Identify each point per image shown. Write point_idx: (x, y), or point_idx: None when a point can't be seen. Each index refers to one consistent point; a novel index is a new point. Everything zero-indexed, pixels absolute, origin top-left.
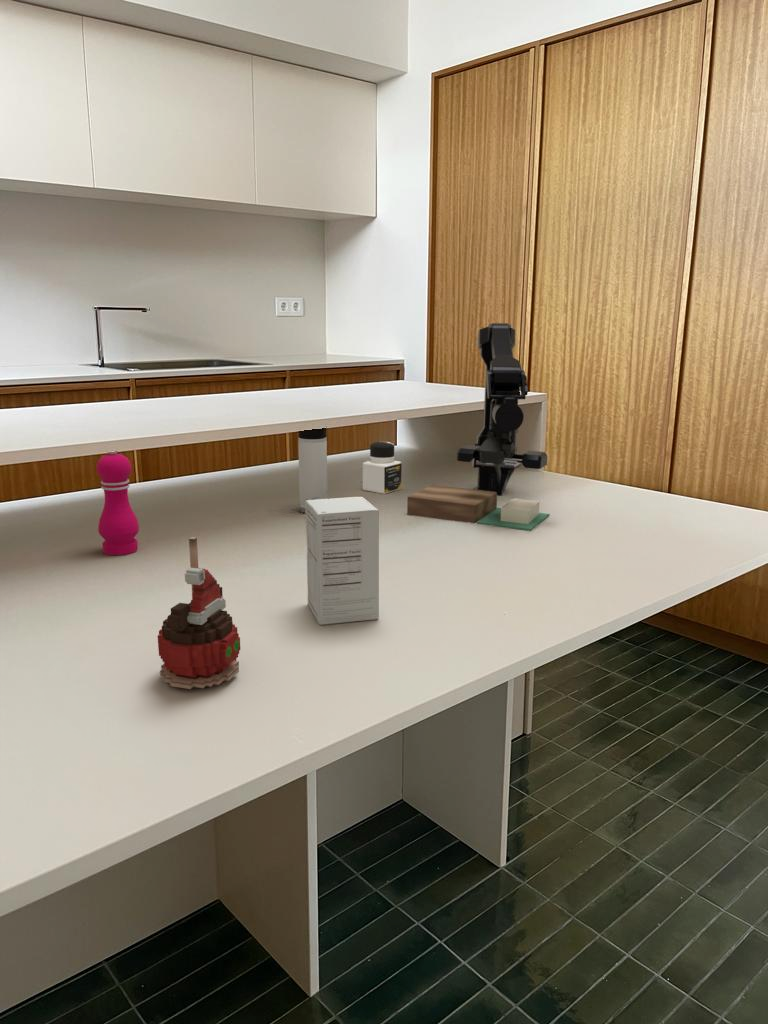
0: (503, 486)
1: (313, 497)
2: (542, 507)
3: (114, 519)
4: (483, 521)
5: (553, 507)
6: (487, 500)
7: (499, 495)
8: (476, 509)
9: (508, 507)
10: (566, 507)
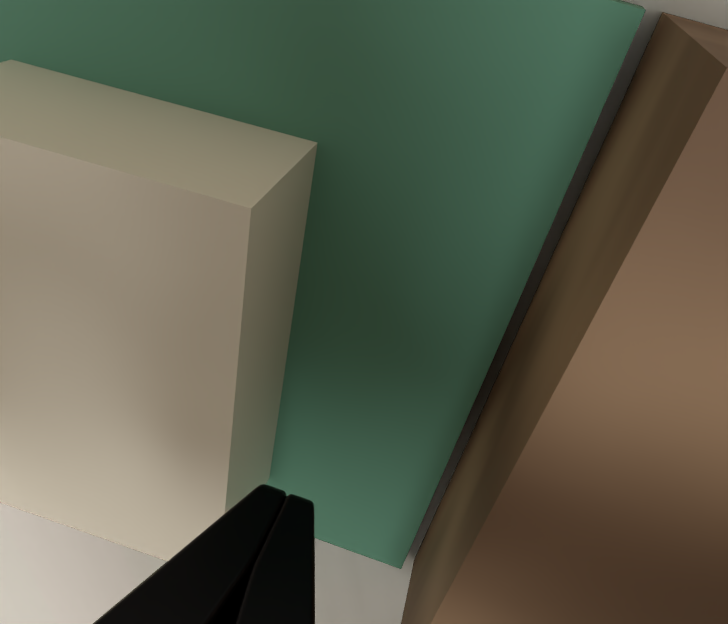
0: (134, 589)
1: None
2: (121, 583)
3: None
4: (532, 59)
5: (64, 580)
6: (477, 513)
7: (282, 493)
8: (673, 106)
9: (152, 213)
10: (2, 577)
